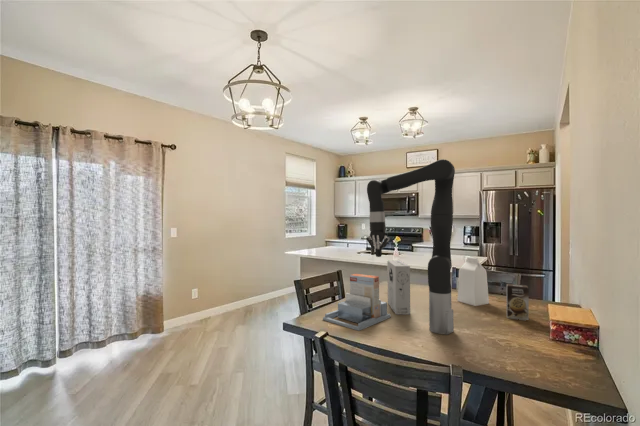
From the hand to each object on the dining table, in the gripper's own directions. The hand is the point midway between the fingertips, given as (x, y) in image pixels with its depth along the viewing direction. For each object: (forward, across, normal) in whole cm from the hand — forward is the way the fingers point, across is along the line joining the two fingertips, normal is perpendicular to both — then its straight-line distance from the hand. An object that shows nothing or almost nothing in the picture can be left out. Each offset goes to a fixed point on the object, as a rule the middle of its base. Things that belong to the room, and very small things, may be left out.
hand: (378, 256), depth 154 cm
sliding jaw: (+31, +10, +8) cm, 33 cm away
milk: (+32, -22, -64) cm, 75 cm away
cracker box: (+31, +9, 0) cm, 32 cm away
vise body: (+31, +10, +5) cm, 33 cm away
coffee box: (+33, -48, -49) cm, 76 cm away
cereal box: (+31, +4, -24) cm, 39 cm away
